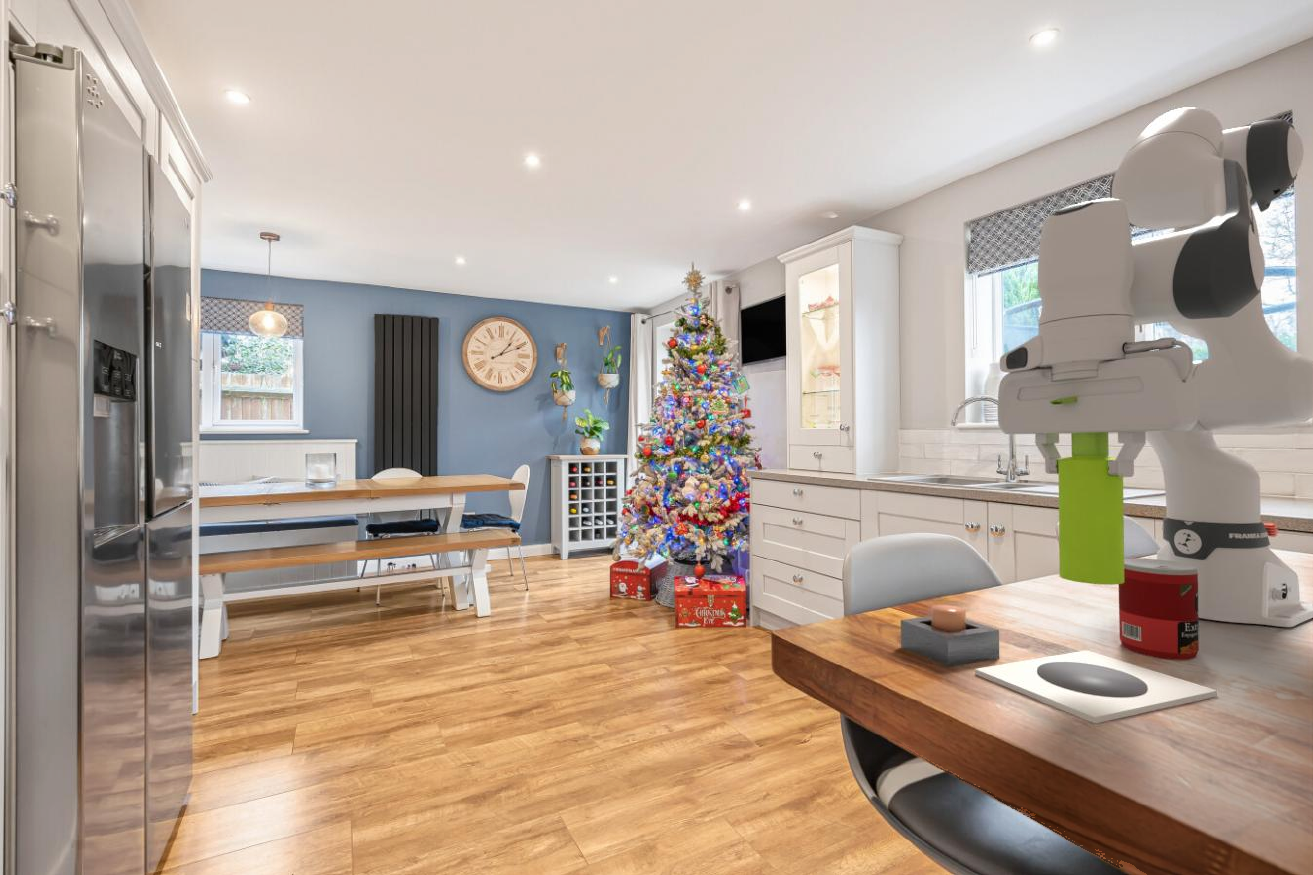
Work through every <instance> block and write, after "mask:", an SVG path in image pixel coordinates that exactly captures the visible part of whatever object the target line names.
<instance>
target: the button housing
mask: <svg viewBox="0 0 1313 875" xmlns="http://www.w3.org/2000/svg"><path fill="white" fill-rule="evenodd" d="M900 648H903V649H905V650H907V651H909V652H913V654H917V655H918V656H922V657H924V658H926V659H929V660H932V661H933V662H936V663H938V664H940V665H943V666H945V667H946V668H947V667H948V668H949V667H954V666H955V667H956V666H960V665H961V666H962V665H963V666H964V665H968V664H969V665H970V664H974V663H980V662H986V661H992V660H999V659H1000V630H999V629H997V628H994V627H991V626H988V625H984V624H982V623H979V622H975V621H972V620H969V619H966V630H962V631H955V632H945V631H943V630H940V629H937V628H934V627H931V615H928V616H921V617H915V618H907V619H900Z"/></svg>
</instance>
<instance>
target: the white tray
mask: <svg viewBox="0 0 1313 875" xmlns="http://www.w3.org/2000/svg"><path fill="white" fill-rule="evenodd" d="M974 675H976V676H979V677H980V678H983V679H986V680H988V681H990V682H993V683H995V684H998V685H1000V686H1003V687H1005V688H1007V689H1009V690H1010V689H1011V690H1012V691H1015V692H1018V693H1020V694H1021V695H1024V696H1027V697H1029V698H1031V699H1034V700H1037V701H1040V702H1042V703H1044V704H1046V705H1049V706H1051V707H1053V708H1056V709H1059V710H1061V711H1064V712H1066V713H1068V714H1070V715H1073V716H1076V717H1078V718H1080V719H1083V720H1085V721H1087V722H1090V723H1092V724H1095V725H1096V724H1100V723H1103V722H1110V721H1113V720H1117V719H1121V718H1126V717H1131V716H1136V715H1139V714H1145V713H1149V712H1153V711H1158V710H1162V709H1167V708H1172V707H1175V706H1180V705H1185V704H1189V703H1193V702H1197V701H1202V700H1208V699H1211V698H1215V697H1216V698H1217V697H1218V690H1216V689H1213V688H1211V687H1207V686H1205V685H1201V684H1198V683H1195V682H1191V681H1187V680H1184V679H1181V678H1177V677H1175V676H1171V675H1168V674H1165V673H1162V672H1158V671H1155V670H1152V669H1149V668H1145V667H1142V666H1139V665H1136V664H1133V663H1129V662H1125V661H1124V660H1120V659H1116V658H1113V657H1110V656H1106V655H1103V654H1100V653H1097V652H1093V651H1090V650H1087V649H1086V650H1081V651H1074V652H1069V653H1063V654H1056V655H1049V656H1044V657H1039V658H1033V659H1028V660H1019V661H1015V662H1007V663H1003V664H1002V663H1001V664H996V665H992V666H991V665H990V666H984V667H979V668H974Z"/></svg>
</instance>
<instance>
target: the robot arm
mask: <svg viewBox="0 0 1313 875" xmlns="http://www.w3.org/2000/svg"><path fill="white" fill-rule="evenodd" d="M1304 151H1305V150H1304V144H1303V141H1302V139H1301V136H1300V134H1299V133H1298V132H1297V131H1296V129H1295V126H1294V125H1293V123H1291V122H1289V121H1287V120H1285V119H1283V118H1282V119H1279V118H1277V119H1267V120H1266V119H1265V120H1260V121H1255V122H1252V123H1251V124H1250V125H1248V126H1241V127H1240V126H1239V127H1236V128H1231V129H1225V130H1224V129H1223V125H1222V123H1221V121H1220V120H1219V119H1218V117H1217V116H1216V115H1215V114H1214V113H1212V112H1210V111H1209V110H1206V109H1203V108H1199V107H1182V108H1177V109H1174V110H1170V111H1169V112H1166V113H1164V114H1163V115H1161V116H1158V118H1156V119H1155V120H1154V121H1153V122H1151V123H1150V124H1149V125H1148V126H1147V127H1146V128H1145V129H1144V130H1143V131H1142V132H1141V133H1140V135H1138V137H1137V138H1135V140H1134V142H1132V144H1131V146H1130V147H1129V149H1128V150H1127V151H1126V153H1125V155H1124V156H1123V159H1122V160H1121V162H1120V164H1119V166H1118V167H1117V169H1116V171H1115V173H1114V174H1113V176H1112V178H1111V181H1110V186H1109V195H1108V197H1107V198H1100V199H1099V198H1098V199H1095V200H1090V201H1088V200H1087V201H1084V202H1080V203H1077V204H1071V205H1069V206H1066V207H1062V208H1060V209H1058V210H1055V211H1053V212H1052V213H1051V214H1050V215H1048V216H1047V217H1046V218H1044V222H1043V225H1042V229H1041V234H1040V237H1039V238H1040V240H1039V246H1038V256H1037V257H1038V258H1037V290H1038V294H1039V296H1040V299H1041V313H1040V316H1039V318H1038V319H1039V320H1038V326H1037V327H1038V335H1036V336H1033V337H1032V338H1030V339H1028V340H1027V341H1025V342H1024V343H1022V344H1021V345H1018V346H1016V347H1015V348H1013V349H1011V350H1009V351H1007V352H1005V353H1003V354H1002V355H1001V356H1000V359H999V369H1000V371H1001V372H1002V373H1007V374H1005V375H1004V376H1002V378H1001V380H1000V382H999V385H998V389H997V390H998V392H997V424H998V426H999V428H1000V429H1001V432H1003V433H1004V434H1005V435H1035V437H1034V438H1035V439H1034V440H1035V441H1034V443H1035V446H1036V447H1037V449H1038V450H1039V452H1040V454H1041V455H1042V457H1043V459H1044V466H1045V468H1044V471H1045V473H1046V474H1048V475H1049V474H1050V475H1059V466H1058V460H1059V459H1062V458H1063V457H1061V454H1060V452H1059V449H1058V448H1057V446H1056V444H1059V443H1060V434H1071V433H1100V432H1108V434H1109V433H1110V434H1111V433H1117V443H1118V444H1123V445H1122V446H1121V449H1120V451H1119V452H1118V454H1117V456H1116V457H1115V458H1116V460H1108V466H1109V468H1110V469H1109V470H1108V473H1109V475H1110V476H1113V477H1123V478H1133V476H1134V474H1135V463H1134V462H1135V460H1136V459H1137V458H1138V457H1139V455H1140V453H1141V451H1142V450H1143V448H1144V447H1145V445H1146V441H1147V442H1148V443H1149V445H1150V446H1151V448H1152V450H1154V452H1155V454H1156V457H1157V458H1158V460H1159V463H1160V465H1161V469H1162V472H1163V480H1164V482H1163V483H1164V490H1165V492H1164V493H1165V507H1166V508H1165V510H1166V512H1165V513H1166V516H1165V517H1163V519H1162V526H1161V530H1162V539H1163V540H1164V541H1165V544H1164V545H1163V546H1162V547H1161V548H1160V549H1158V550H1157V552H1156V559H1158V560H1167V561H1175V562H1181V563H1186V564H1190V565H1193V566H1195V567H1197V572H1198V619H1204V620H1210V621H1211V620H1212V621H1219V622H1228V623H1235V624H1237V623H1238V624H1239V623H1241V624H1255V625H1263V626H1264V625H1266V626H1273V627H1282V628H1293V627H1295V626H1297V625H1299V624H1301V623H1304V622H1306V621H1309V620H1311V619H1312V618H1313V604H1312V603H1309V602H1305V601H1301V599H1300V583H1299V578H1298V577H1299V576H1298V573H1297V572H1296V571H1294V570H1293V568H1291V566H1289V565H1288V564H1286V562H1284V561H1283V560H1282V559H1281V558H1279V556H1278V555H1277V554H1276V553H1274V551H1272V550H1271V549H1270V548H1269V546H1270V545H1271V542H1270V539H1269V537H1272V538H1273V537H1274V538H1276V537H1277V536H1278V534H1279V527H1278V525H1277V523H1271V522H1270V523H1265V522H1263V521H1262V520H1261V477H1260V474H1259V472H1258V471H1257V470H1256V468H1255V467H1254V466H1253V465H1252V464H1250V462H1249V461H1247V460H1245V459H1244V458H1241V457H1238V456H1236V455H1234V454H1232V453H1229V452H1227V451H1224V450H1222V449H1221V448H1220V447H1219V446H1218V444H1217V443H1216V441H1215V439H1214V436H1213V430H1216V431H1218V430H1260V429H1261V430H1263V429H1264V430H1266V429H1271V428H1276V427H1284V426H1290V425H1294V424H1299V423H1305V422H1308V421H1309V420H1310V419H1312V418H1313V360H1312V359H1310V357H1308V356H1306V355H1303V354H1301V353H1299V352H1297V351H1295V350H1293V349H1291V348H1290V347H1288V346H1287V345H1286V344H1284V343H1283V342H1282V341H1281V340H1279V338H1278V337H1277V336H1276V335H1275V334H1274V333H1273V332H1272V330H1271V328H1270V326H1269V325H1268V323H1267V321H1266V318H1265V315H1264V311H1263V301H1262V291H1261V288H1262V286H1263V283H1264V281H1265V280H1264V279H1265V276H1266V274H1265V272H1266V268H1265V267H1266V266H1265V265H1266V264H1265V262H1266V261H1265V256H1264V253H1263V249H1262V248H1263V247H1262V246H1261V243H1260V235H1259V229H1258V225H1257V224H1258V223H1257V220H1256V217H1255V214H1254V210H1253V208H1252V207H1253V206H1254V205H1255V204H1257V206H1258V209H1259V211H1260V212H1261V213H1263V212H1265V211H1268V209H1269V208H1270V206H1271V203H1272V201H1274V200H1276V199H1277V198H1279V197H1280V196H1282V195H1283V194H1285V192H1286V191H1287V190H1288V189H1290V187H1291V186H1292V184H1293V183H1294V182H1295V181H1296V179H1297V178H1298V173H1299V170H1300V169H1301V166H1302V163H1303V159H1304ZM1131 227H1138V228H1141V229H1146V230H1150V231H1151V230H1153V231H1157V230H1158V231H1159V230H1160V231H1162V230H1169V229H1173V232H1169V233H1166V234H1161V235H1154V236H1151V237H1146V238H1140V239H1138V240H1137V239H1136V240H1133V239H1132V238H1133V237H1132V232H1131V231H1132V230H1131ZM1165 322H1168V324H1169V326H1170V327H1171V328H1172V329H1173V330H1175V331H1176V332H1178V333H1179V334H1182V335H1184V336H1185V335H1186V336H1188V337H1191V338H1194V339H1197V340H1201V341H1203V342H1205V344H1206V347H1207V349H1208V358H1204V359H1198V360H1197V359H1196V360H1194V353H1193V349H1192V348H1191V347H1190V346H1189V345H1188V344H1187V343H1185V342H1184V341H1181V340H1177V339H1176V338H1175V337H1161V338H1158V339H1153V340H1141V341H1136V326H1143V325H1149V324H1157V323H1165ZM1176 346H1178V347H1176ZM1077 396H1079V397H1077ZM1068 397H1077V402H1072V403H1067V404H1058V405H1052V404H1051V403H1050V401H1053V400H1056V399H1061V398H1068ZM1061 403H1062V402H1061Z"/></svg>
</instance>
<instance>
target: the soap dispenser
mask: <svg viewBox="0 0 1313 875" xmlns="http://www.w3.org/2000/svg"><path fill="white" fill-rule="evenodd" d="M1077 397H1079V396H1077ZM1077 397H1068V398H1061V399H1056V400H1053V401H1050V403H1051V404H1052V405H1058V404H1067V403H1072V402H1077ZM1061 402H1062V403H1061ZM1070 434H1071V456H1067V457H1061V458H1062V459H1059V460H1058V466H1059V474H1058V537H1059V538H1058V539H1059V540H1058V544H1059V545H1058V546H1059V554H1058V555H1059V557H1058V558H1059V577H1060V578H1061V579H1064V580H1066V581H1070V582H1077V583H1083V584H1090V585H1091V584H1092V585H1105V586H1106V585H1110V586H1113V585H1119V584H1122V583H1124V559H1125V539H1124V538H1125V532H1124V531H1125V530H1124V528H1125V526H1124V525H1125V524H1124V522H1125V521H1124V517H1125V516H1124V515H1125V513H1124V512H1125V510H1124V477H1113V476H1110V475H1109V473H1108V470H1109V469H1110V468H1109V466H1108V460H1116V458H1117V457H1112V456H1109V455H1110V454H1109V452H1110V451H1109V433H1108V432H1100V433H1070Z"/></svg>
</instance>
